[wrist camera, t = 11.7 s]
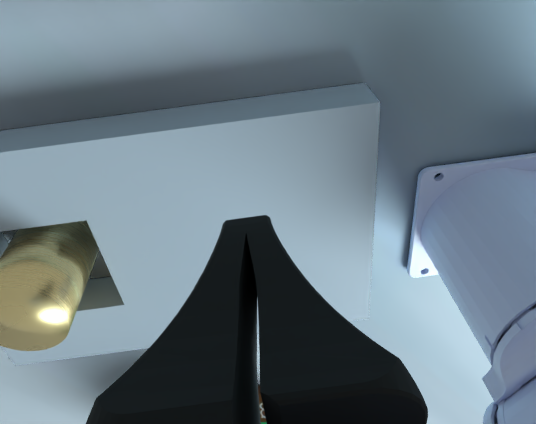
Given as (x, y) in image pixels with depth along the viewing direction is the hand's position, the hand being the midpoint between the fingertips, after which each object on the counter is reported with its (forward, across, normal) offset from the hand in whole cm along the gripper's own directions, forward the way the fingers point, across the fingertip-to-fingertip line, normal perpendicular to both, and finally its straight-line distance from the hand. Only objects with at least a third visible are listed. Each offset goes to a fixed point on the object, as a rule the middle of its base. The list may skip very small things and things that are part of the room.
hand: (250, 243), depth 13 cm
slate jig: (+9, +5, +6) cm, 12 cm away
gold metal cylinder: (+9, +11, +6) cm, 16 cm away
